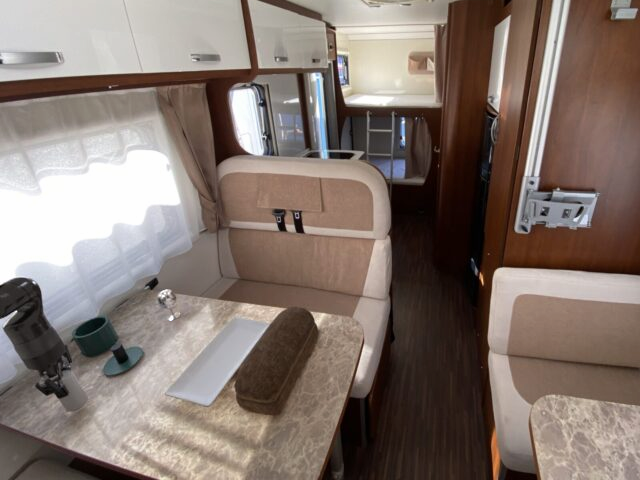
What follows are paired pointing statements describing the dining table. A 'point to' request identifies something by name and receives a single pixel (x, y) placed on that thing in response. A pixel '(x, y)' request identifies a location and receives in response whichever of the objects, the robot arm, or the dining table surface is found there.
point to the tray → (217, 362)
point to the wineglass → (168, 302)
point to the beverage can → (72, 392)
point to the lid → (122, 359)
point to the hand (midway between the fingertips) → (67, 388)
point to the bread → (276, 362)
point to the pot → (95, 336)
